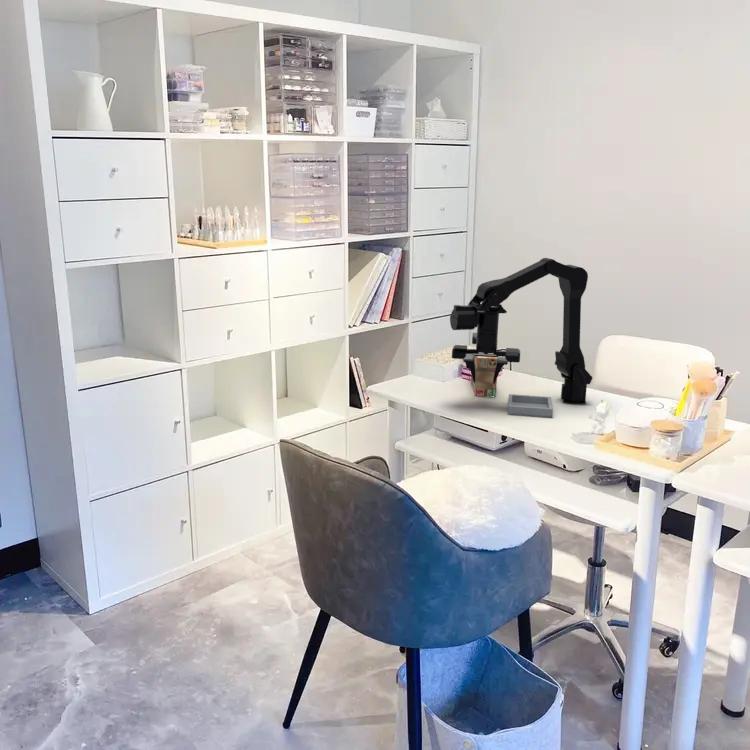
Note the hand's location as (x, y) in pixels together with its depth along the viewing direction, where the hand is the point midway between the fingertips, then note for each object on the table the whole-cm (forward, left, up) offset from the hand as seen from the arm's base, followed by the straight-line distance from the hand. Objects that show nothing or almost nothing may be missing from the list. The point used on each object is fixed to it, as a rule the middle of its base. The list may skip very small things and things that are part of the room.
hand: (484, 383), depth 218 cm
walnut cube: (0, 0, -1) cm, 1 cm away
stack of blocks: (+1, -20, -7) cm, 22 cm away
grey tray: (-13, 0, -7) cm, 15 cm away
